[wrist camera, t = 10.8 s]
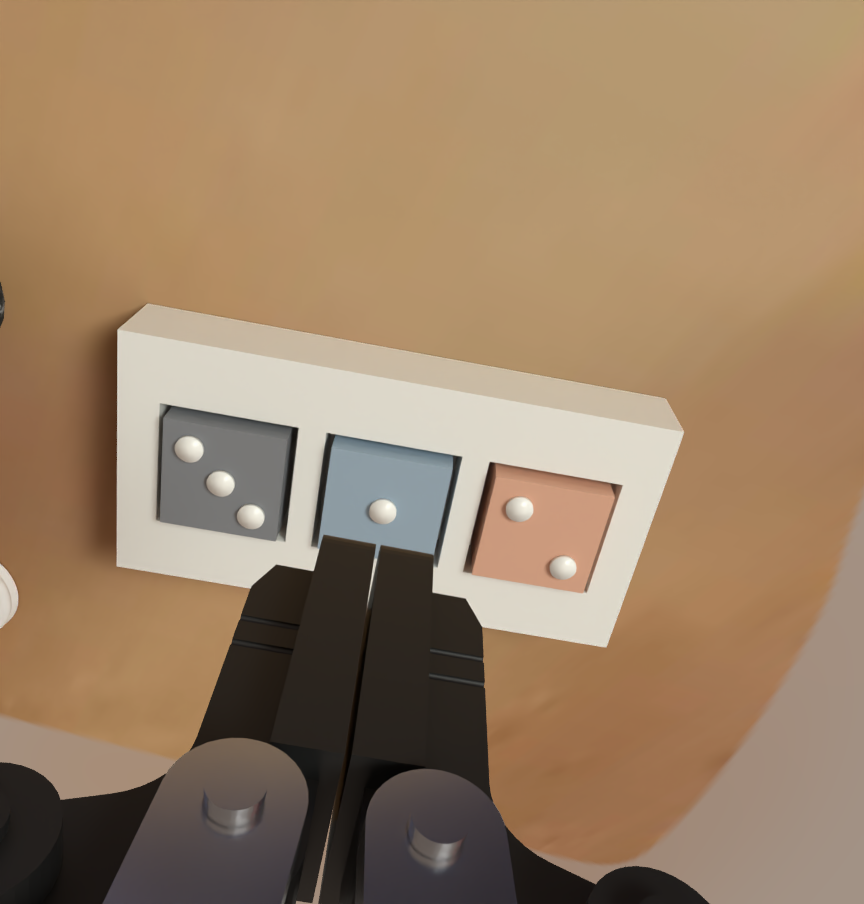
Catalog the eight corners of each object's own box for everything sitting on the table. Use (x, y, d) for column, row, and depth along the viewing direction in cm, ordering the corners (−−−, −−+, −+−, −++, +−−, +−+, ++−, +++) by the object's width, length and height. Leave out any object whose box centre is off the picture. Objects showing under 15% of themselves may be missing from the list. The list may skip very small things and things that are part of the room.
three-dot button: (180, 489, 33) (158, 524, 31) (184, 390, 31) (161, 420, 29) (288, 507, 33) (274, 544, 31) (299, 410, 31) (285, 442, 29)
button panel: (142, 525, 35) (116, 566, 32) (147, 303, 31) (117, 329, 28) (595, 602, 36) (606, 647, 34) (665, 398, 32) (684, 432, 29)
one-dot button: (326, 513, 33) (316, 551, 31) (341, 418, 31) (330, 450, 29) (432, 532, 34) (430, 570, 31) (453, 438, 32) (452, 471, 29)
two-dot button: (471, 538, 34) (471, 577, 31) (493, 445, 32) (496, 479, 29) (575, 556, 34) (583, 596, 32) (604, 465, 32) (615, 500, 30)
